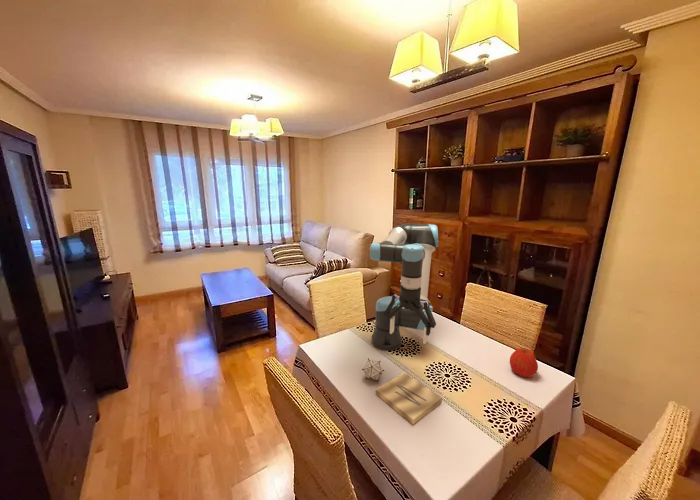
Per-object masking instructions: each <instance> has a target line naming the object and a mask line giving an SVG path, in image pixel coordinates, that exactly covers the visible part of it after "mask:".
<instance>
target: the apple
mask: <svg viewBox="0 0 700 500" xmlns="http://www.w3.org/2000/svg"><path fill="white" fill-rule="evenodd" d="M509 364H510V368H511V370H512V371H513V372H514V373H515V374H517V376H520V377H522V378H523V377H524V378H532V377H534V376H535V375H536V374H537V373H538V370H539V365H538V362H537V358H536V356H535V354H534V353H533V352H532V351H531V350H530V349H528V348H525V347H523V348H522V347H521V348H516V350H514V351H513V352H512V354H510V357H509Z"/></svg>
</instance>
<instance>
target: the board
mask: <svg viewBox="0 0 700 500" xmlns="http://www.w3.org/2000/svg"><path fill="white" fill-rule="evenodd" d="M375 395H376V396H378V397H379V398H380V399H381V400H383V402H385V403H386V404H388V406H390V407H391V408H392V409H393V410H395V411H396V413H398V414H399V415H401V416H402V417H403V418H404V419H405V420H407V421H408V422H409V423H410V424H411V425H415V424H416V423H418V422H419V421H420V420H422V418H424V416H427V414H428V413H430V412H432V410H433V409H435V408H436V407H437V406H439V405H440V404H441V403H442V400H443V397H442V396H440V395H439V394H437V393H435V392H434V391H433V390H432V389H429V388H428V387H426V386H425V385H424V384H423V383H421V382H419V381H418V380H416V379H415V378H414V377H413V376H412V377H411V376H410V375H409V374H407V373H406V372H402V373H401V374H398V375H397V376H395V377H394V378H391V379H390V380H389V381H387V382H385V383H384V384H382V385H380V386H379V387H376V389H375Z"/></svg>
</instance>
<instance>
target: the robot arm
mask: <svg viewBox="0 0 700 500" xmlns="http://www.w3.org/2000/svg"><path fill="white" fill-rule="evenodd" d="M438 228H439V227H438V226H437V225H436V224H430V223H426V224H425V223H411V222H410V223H403V224H402V223H401V224H398V225H396V226H395V227H393V228H392V229H390V231H389V232H388V235H387V236H386V237H385V238H384V239H383V240H381V242H379V241H378V242H372V243H371V244H370V247H369V258H370V260H372V261H377V262H385V263H387V262H388V263H398V264H401V269H400V270H401V274H400V291H399V293H400V294H399V295H398V294H397V293H394V294H393V295H391V296H383V297H380V298H379V299H378V300H377V301H376V302H375V308H374V309H375V327H374V330H373V333H372V335H371V343H372V345H373V346H374V347H375V348H377V349H379V350H384V351H393V350H397V349H399V348H400V347H402V343H403V339H402V336H401V332H400V327H403V328H409V329H414V330H420V331H423V340H422V343H423V344H424V345H425V344H427V342H428V336H430V335H431V332H432V331H431V329H435V328H436V326H437V322H436V320H435V317H434V315H433V309H434V306H432V305H431V301H430V300H429V299H428V296H429V295H428V294H429V286H430V272H431V264H432V255H433V253H434V252H435V251H436V248H438V247H439V229H438Z"/></svg>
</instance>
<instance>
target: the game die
mask: <svg viewBox="0 0 700 500" xmlns="http://www.w3.org/2000/svg"><path fill="white" fill-rule="evenodd" d="M361 371H363V372H364V374H365V377H366V378H365V380H368V379H369V380H374V381H376V382H377V383H379V378H380V376H381V375H383V372H385V369H383V368H382V365H381V360H379V361H376V360H371V359H370V358H369V357H368V358H367V361H366V364H365V366H364V367H363V368H362V369H361Z"/></svg>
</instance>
